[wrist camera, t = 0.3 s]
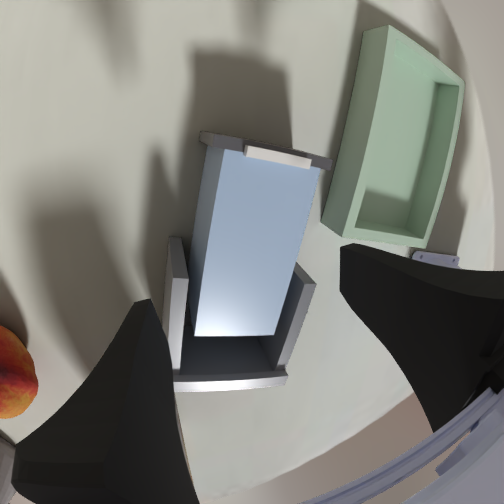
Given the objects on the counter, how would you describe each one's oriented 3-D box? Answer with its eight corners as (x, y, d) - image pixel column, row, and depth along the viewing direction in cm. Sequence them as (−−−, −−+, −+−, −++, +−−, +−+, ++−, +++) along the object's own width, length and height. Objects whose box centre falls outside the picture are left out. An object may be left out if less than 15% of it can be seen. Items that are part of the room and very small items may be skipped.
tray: (440, 80, 19) (465, 82, 17) (403, 235, 25) (425, 248, 22) (363, 31, 16) (389, 24, 13) (320, 222, 22) (341, 237, 19)
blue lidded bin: (292, 148, 19) (338, 161, 14) (257, 292, 23) (285, 339, 18) (200, 130, 17) (216, 134, 12) (177, 289, 21) (185, 341, 16)
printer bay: (281, 246, 22) (321, 289, 16) (258, 332, 25) (284, 385, 19) (169, 236, 19) (173, 284, 14) (161, 332, 22) (167, 391, 17)
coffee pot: (-40, 429, 20) (-53, 503, 7) (-25, 413, 20) (-44, 504, 7) (61, 487, 30) (65, 554, 17) (93, 479, 30) (100, 558, 17)
